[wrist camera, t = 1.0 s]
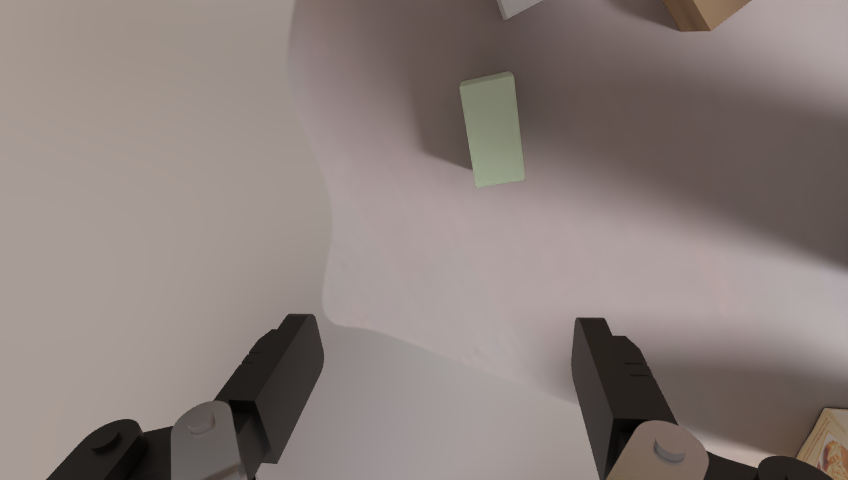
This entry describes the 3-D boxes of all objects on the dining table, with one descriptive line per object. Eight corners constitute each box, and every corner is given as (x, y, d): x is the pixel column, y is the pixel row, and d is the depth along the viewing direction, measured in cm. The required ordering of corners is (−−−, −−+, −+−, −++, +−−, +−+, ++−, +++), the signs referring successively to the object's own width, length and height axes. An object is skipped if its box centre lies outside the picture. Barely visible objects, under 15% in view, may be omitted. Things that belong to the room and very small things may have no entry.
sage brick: (461, 81, 26) (459, 86, 23) (509, 70, 26) (513, 75, 22) (476, 171, 29) (476, 187, 25) (520, 164, 28) (525, 179, 25)
